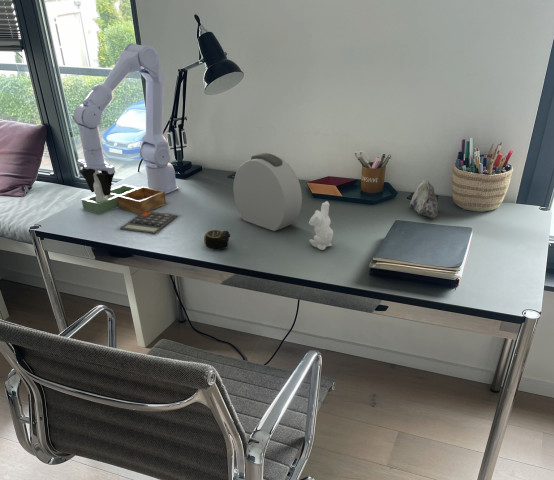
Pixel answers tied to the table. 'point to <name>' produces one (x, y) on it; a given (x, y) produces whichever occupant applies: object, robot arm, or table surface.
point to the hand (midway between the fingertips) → (100, 193)
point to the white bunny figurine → (321, 227)
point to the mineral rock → (425, 200)
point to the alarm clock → (267, 192)
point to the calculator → (148, 222)
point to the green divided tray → (107, 204)
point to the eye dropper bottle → (98, 189)
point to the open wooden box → (141, 200)
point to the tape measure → (216, 239)
